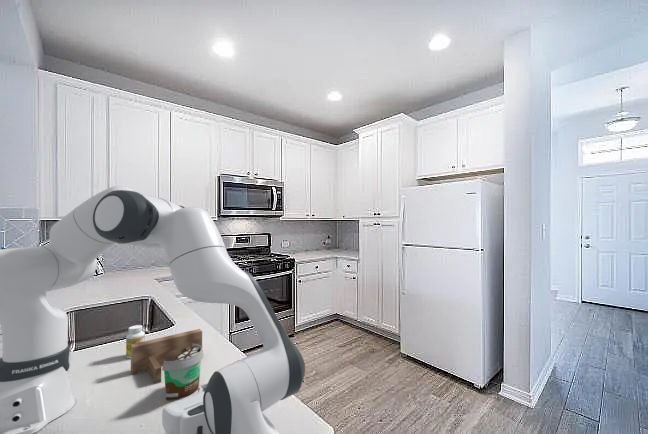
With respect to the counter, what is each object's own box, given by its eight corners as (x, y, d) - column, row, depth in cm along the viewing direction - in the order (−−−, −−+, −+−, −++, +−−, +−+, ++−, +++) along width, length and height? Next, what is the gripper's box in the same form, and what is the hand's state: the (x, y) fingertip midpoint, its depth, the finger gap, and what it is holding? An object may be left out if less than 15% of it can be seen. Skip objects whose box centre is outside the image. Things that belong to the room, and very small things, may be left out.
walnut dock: (138, 389, 79) (138, 358, 79) (130, 371, 89) (130, 344, 89) (213, 365, 92) (213, 339, 92) (199, 352, 102) (199, 328, 102)
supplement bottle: (148, 352, 102) (148, 324, 103) (137, 359, 97) (137, 329, 97) (133, 351, 103) (133, 324, 103) (122, 358, 97) (122, 329, 98)
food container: (183, 406, 71) (184, 364, 72) (161, 403, 73) (162, 362, 73) (212, 380, 83) (212, 344, 84) (193, 378, 85) (193, 342, 85)
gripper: (272, 381, 66) (244, 360, 77) (173, 421, 53) (156, 390, 63) (272, 410, 66) (244, 385, 77) (173, 457, 53) (155, 420, 63)
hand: (203, 387), depth 70 cm, fingers closed
